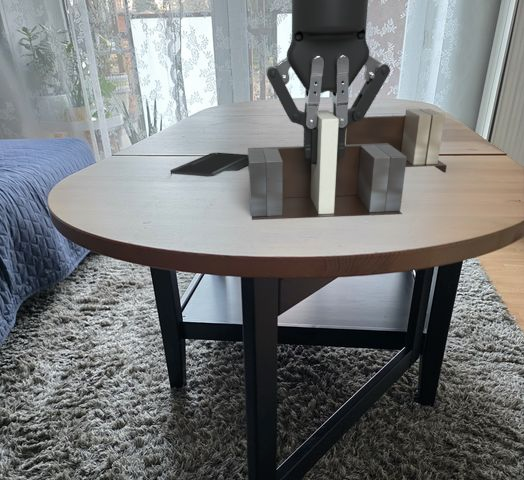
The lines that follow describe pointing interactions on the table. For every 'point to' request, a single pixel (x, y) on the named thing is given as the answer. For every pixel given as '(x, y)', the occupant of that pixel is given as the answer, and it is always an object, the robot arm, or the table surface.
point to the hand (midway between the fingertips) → (323, 161)
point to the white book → (325, 163)
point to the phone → (212, 164)
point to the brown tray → (403, 135)
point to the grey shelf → (346, 188)
